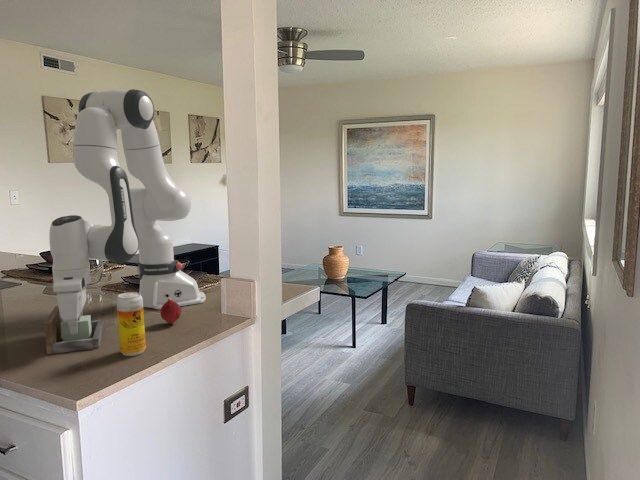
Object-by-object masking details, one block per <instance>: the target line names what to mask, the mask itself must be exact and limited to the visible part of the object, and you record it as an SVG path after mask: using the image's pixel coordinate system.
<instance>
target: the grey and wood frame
mask: <svg viewBox="0 0 640 480" xmlns="http://www.w3.org/2000/svg"><path fill="white" fill-rule="evenodd" d="M61 322H62V320H61V317H60V312H59V307H58V305H55V306H54V308H52V311H51V312H50V314H49V315H48V316H47V318H46V320H45V322H43V327H44V337H45V338H44V339H45V347H46V354H47V355H52V354H58V353H59V354H61V353H69V352H76V351H77V352H78V351H83V350H85V351H86V350H92V349H94V350H95V349H100V347H101V343H102V339H103V335H104V332H105V319H98V320H97V319H96V320H91V328H92V331H94V333H93V334H92V338H90V339H81V340H72V341H63V340H62V329H61ZM61 340H62V341H61Z"/></svg>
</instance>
